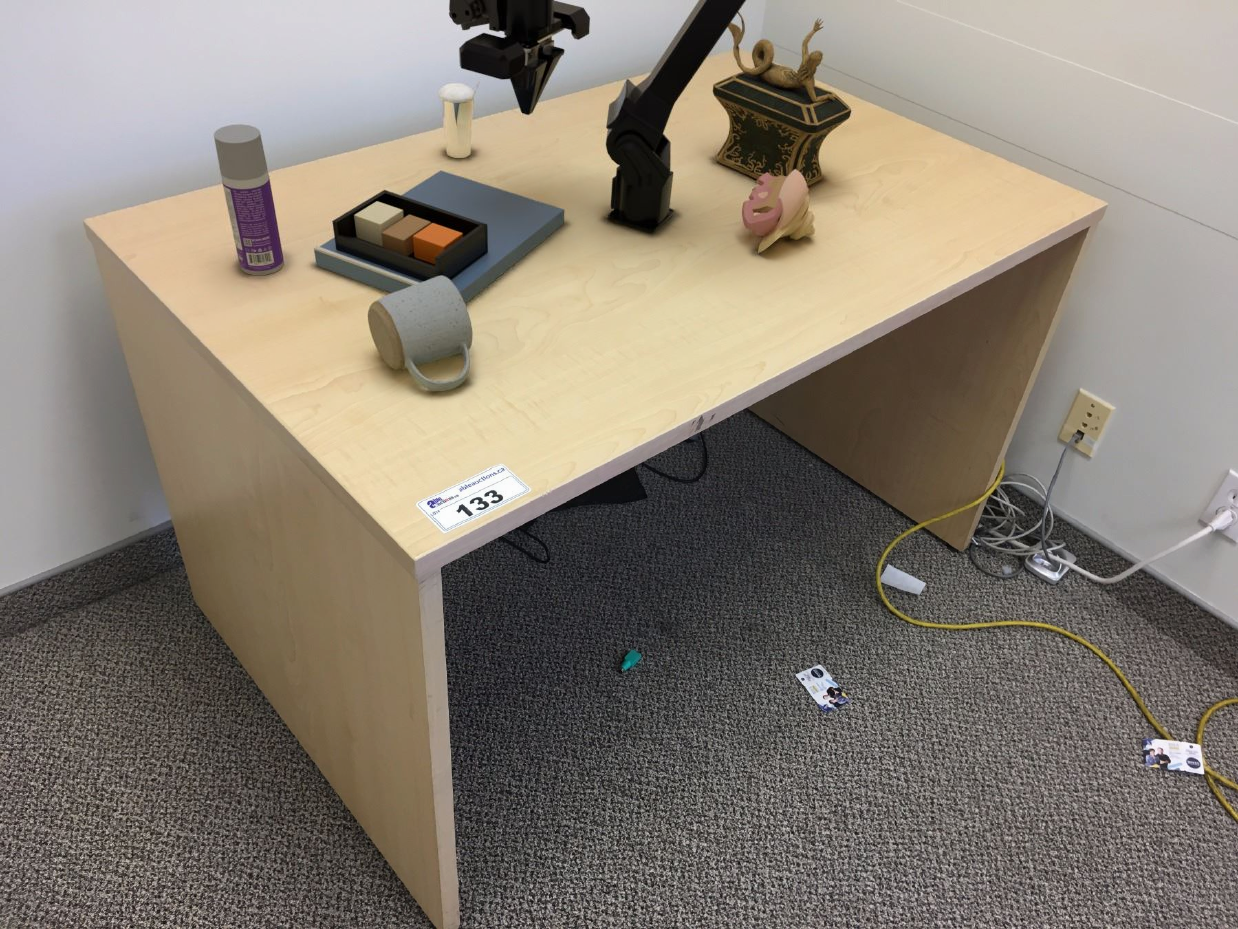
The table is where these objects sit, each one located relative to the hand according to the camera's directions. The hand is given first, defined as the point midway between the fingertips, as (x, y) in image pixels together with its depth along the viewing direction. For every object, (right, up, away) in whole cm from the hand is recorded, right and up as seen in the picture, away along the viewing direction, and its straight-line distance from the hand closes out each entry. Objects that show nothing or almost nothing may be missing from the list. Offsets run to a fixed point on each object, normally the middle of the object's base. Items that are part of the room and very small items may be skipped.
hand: (526, 113), depth 116 cm
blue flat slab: (-9, -15, 0) cm, 18 cm away
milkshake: (-10, +1, +18) cm, 21 cm away
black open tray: (-12, -17, -6) cm, 22 cm away
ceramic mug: (-8, -31, -17) cm, 36 cm away
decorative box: (+30, 0, +22) cm, 37 cm away
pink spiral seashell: (+29, -14, +6) cm, 33 cm away
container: (-29, -19, -6) cm, 35 cm away
